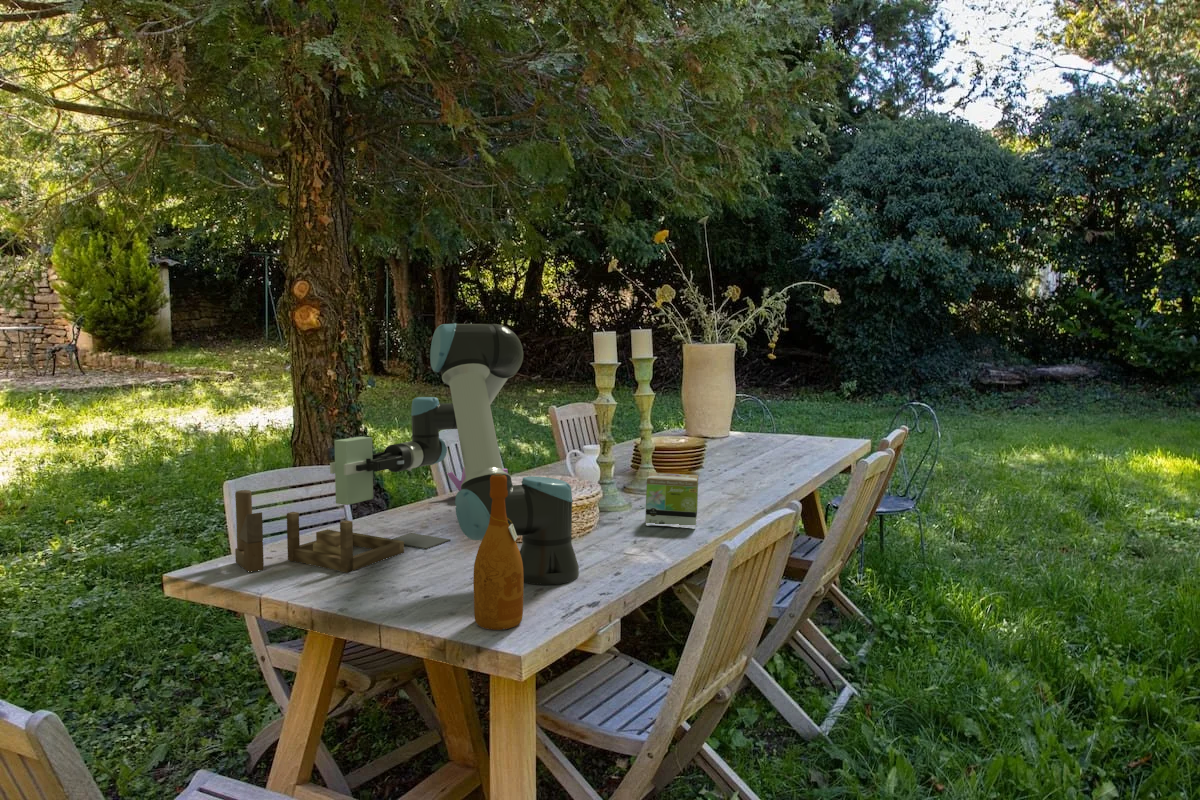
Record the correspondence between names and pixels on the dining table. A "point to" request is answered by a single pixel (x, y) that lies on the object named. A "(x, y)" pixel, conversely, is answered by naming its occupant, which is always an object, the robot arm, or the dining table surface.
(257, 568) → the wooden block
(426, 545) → the felt mat
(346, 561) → the rack
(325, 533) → the walnut offcut
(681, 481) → the tea box
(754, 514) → the dining table surface
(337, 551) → the oak offcut
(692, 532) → the dining table surface
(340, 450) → the sage block
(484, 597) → the wine bottle
